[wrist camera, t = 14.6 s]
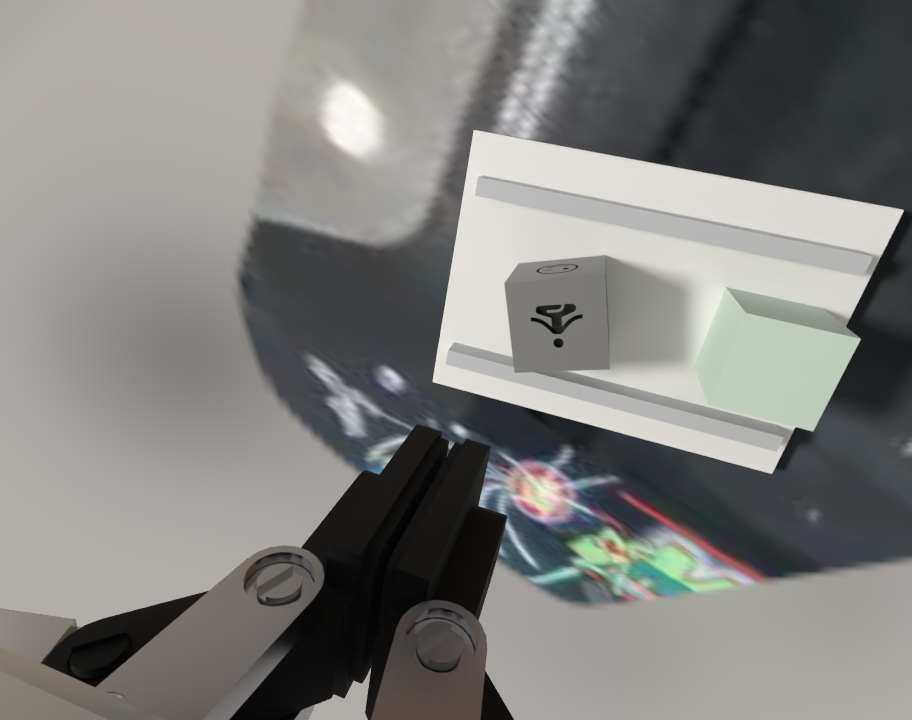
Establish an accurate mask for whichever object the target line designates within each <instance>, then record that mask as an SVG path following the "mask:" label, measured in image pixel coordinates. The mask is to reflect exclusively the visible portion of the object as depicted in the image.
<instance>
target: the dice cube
mask: <svg viewBox="0 0 912 720" xmlns="http://www.w3.org/2000/svg"><path fill="white" fill-rule="evenodd" d="M504 285H505V294H506V303H507V311H508V320H509V329H510V337H511V346H512V355H513V363H514V372H515V373H523V372H551V371H579V370H606V369H610V355H609V321H608V300H607V280H606V260H605V255H601V256H591V257H580V258H570V259H559V260H549V261H538V262H528V263H518V265H517V266H516V268H515V269H514V270H513V272H512V273H511V275H510V276H509V277H508V279H507V280H506V282H505V283H504Z"/></svg>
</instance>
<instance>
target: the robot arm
mask: <svg viewBox="0 0 912 720" xmlns="http://www.w3.org/2000/svg"><path fill="white" fill-rule="evenodd" d="M448 445H449V441H448V440H446V439H442V432H441V431H439V430H435V429H432V428H429V427H425V426H422V425H416V426H415V427H414V429H413V430H412V431H411V433H410V434H409V435H408V437H407V438H406V440H405V441H404V442H403V444H402V445H401V446H400V448H399V449H398V450H397V452H396V453H395V454H394V456H393V457H392V459H391V460H390V461H389V463H388V464H387V465H386V467H385V468H384V469H383V471H382V472H381V474H380V475H379V474H376V473H373V472H370V471H367V470H366V471H363V472H362V473H361V474H360V475H359V476H358V477H357V478H356V480H355V481H354V482H353V484H352V485H351V486H350V487H349V488H348V490H347V491H346V492H345V493H344V495H343V496H342V497H341V498H340V500H339V501H338V502H337V503H336V505H335V506H334V507H333V509H332V510H331V511H330V512H329V514H328V515H327V516H326V517H325V519H324V520H323V521H322V522H321V524H320V525H319V526H318V528H317V529H316V530H315V531H314V532H313V534H312V535H311V536H310V537H309V539H308V540H307V541H306V543H305V544H304V545H303V546H302V548H299V547H294V546H277V547H270V548H267V549H264V550H262V551H259V552H257V553H256V554H254V555H252V556H251V557H249V558H248V559H246V560H245V561H244V562H243V563H241V564H240V565H239V566H238V567H237V568H236V569H234V570H233V571H232V572H231V573H230V574H229V575H227V576H226V577H225V578H224V579H223V580H221V581H220V582H219V583H218V584H217V585H215V586H214V587H213V588H212V589H211V590H210V591H207V592H203V593H199V594H195V595H191V596H187V597H184V598H180V599H176V600H172V601H168V602H165V603H161V604H157V605H153V606H150V607H146V608H142V609H138V610H134V611H131V612H127V613H123V614H119V615H115V616H111V617H108V618H104V619H101V620H98V621H95V622H93V623H90V624H87V625H85V626H83V627H77V624H76V620H75V619H69V618H62V617H55V616H48V615H42V614H35V613H28V612H20V611H14V610H7V609H0V720H308V719H309V717H310V715H311V713H312V711H313V708H314V705H315V704H318V703H321V702H323V701H326V700H328V699H331V698H332V696H333V694H335V695H337V696H340V697H342V698H345V696H346V694H347V692H348V690H349V688H350V686H351V684H352V682H353V680H354V681H356V682H359V683H363V681H364V680H365V678H366V676H367V674H368V672H369V670H370V668H371V674H370V682H369V689H368V697H367V704H366V711H365V713H366V716H367V718H368V720H514V719H513V717H512V716H511V714H510V712H509V711H508V709H507V707H506V705H505V704H504V702H503V700H502V699H501V697H500V695H499V693H498V692H497V690H496V688H495V687H494V685H493V683H492V682H491V680H490V678H489V676H488V675H487V673H486V671H485V666H486V655H487V642H486V635H485V633H484V630H483V628H482V626H481V624H480V623H479V621H478V620H479V617H480V613H481V610H482V607H483V604H484V600H485V597H486V594H487V590H488V587H489V584H490V581H491V577H492V574H493V570H494V567H495V563H496V560H497V556H498V552H499V549H500V545H501V541H502V537H503V533H504V529H505V525H506V521H507V515H504V514H501V513H498V512H494V511H491V510H488V509H485V508H482V507H479V506H478V504H479V500H480V495H481V491H482V486H483V482H484V477H485V473H486V468H487V463H488V459H489V454H490V448H491V446H489V445H486V444H483V443H479V442H476V441H472V440H469V439H466V440H465V442H464V443H463V444H459V443H454V445H453V447H452V448H451V450H450V452H449V454H448V456H447V451H448ZM446 456H447V457H446ZM371 666H372V667H371Z"/></svg>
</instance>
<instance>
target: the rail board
mask: <svg viewBox="0 0 912 720" xmlns="http://www.w3.org/2000/svg"><path fill="white" fill-rule="evenodd" d="M903 212H904V210H901V209H897V208H892V207H887V206H882V205H876V204H871V203H866V202H860V201H855V200H849V199H844V198H839V197H833V196H828V195H823V194H817V193H812V192H806V191H801V190H796V189H790V188H785V187H780V186H774V185H769V184H764V183H758V182H753V181H747V180H742V179H737V178H731V177H726V176H721V175H715V174H710V173H704V172H699V171H694V170H688V169H683V168H678V167H672V166H667V165H661V164H656V163H651V162H645V161H640V160H635V159H629V158H624V157H618V156H613V155H608V154H602V153H597V152H592V151H586V150H581V149H575V148H570V147H565V146H559V145H554V144H549V143H543V142H538V141H533V140H527V139H522V138H516V137H511V136H506V135H500V134H495V133H490V132H484V131H479V130H474V132H473V138H472V145H471V151H470V157H469V163H468V169H467V175H466V181H465V187H464V193H463V199H462V205H461V212H460V218H459V224H458V230H457V236H456V242H455V248H454V254H453V260H452V266H451V272H450V278H449V285H448V291H447V297H446V303H445V309H444V315H443V321H442V327H441V333H440V339H439V345H438V351H437V358H436V364H435V370H434V376H433V382H435V383H438V384H442V385H446V386H449V387H453V388H457V389H461V390H464V391H468V392H472V393H475V394H479V395H483V396H486V397H490V398H494V399H497V400H501V401H505V402H508V403H512V404H516V405H520V406H523V407H527V408H531V409H534V410H538V411H542V412H545V413H549V414H553V415H556V416H560V417H564V418H568V419H571V420H575V421H579V422H582V423H586V424H590V425H593V426H597V427H601V428H604V429H608V430H612V431H615V432H619V433H623V434H627V435H630V436H634V437H638V438H641V439H645V440H649V441H652V442H656V443H660V444H663V445H667V446H671V447H675V448H678V449H682V450H686V451H689V452H693V453H697V454H700V455H704V456H708V457H711V458H715V459H719V460H722V461H726V462H730V463H734V464H737V465H741V466H745V467H748V468H752V469H756V470H759V471H763V472H767V473H770V474H772V473H773V471H774V469H775V467H776V465H777V463H778V461H779V459H780V457H781V455H782V453H783V451H784V449H785V447H786V445H787V443H788V441H789V439H790V437H791V435H792V433H793V431H794V429H795V427H797V428H801V429H805V430H809V431H813V430H814V429H815V427H816V425H817V423H818V421H819V419H820V417H821V415H822V413H823V411H824V409H825V407H826V405H827V404H828V402H829V400H830V398H831V396H832V394H833V392H834V390H835V388H836V386H837V384H838V382H839V380H840V378H841V377H842V375H843V373H844V371H845V369H846V367H847V365H848V363H849V361H850V359H851V357H852V355H853V353H854V351H855V350H856V348H857V346H858V344H859V342H860V340H861V338H859V337H858V336H857V335H855V334H854V333H853V332H852V331H850V330H849V329H848V328H847V327H846V325H847V323H848V321H849V319H850V317H851V315H852V313H853V311H854V309H855V307H856V305H857V303H858V301H859V299H860V297H861V295H862V293H863V291H864V289H865V287H866V285H867V283H868V281H869V279H870V277H871V275H872V273H873V271H874V269H875V267H876V265H877V264H878V262H879V260H880V258H881V256H882V254H883V252H884V250H885V248H886V246H887V244H888V242H889V240H890V238H891V236H892V234H893V232H894V230H895V228H896V226H897V224H898V222H899V220H900V218H901V216H902V214H903ZM601 255H605V260H606V280H607V300H608V321H609V355H610V369H606V370H579V371H551V372H523V373H515V372H514V363H513V355H512V346H511V337H510V329H509V320H508V311H507V303H506V294H505V285H504V283H505V282H506V280H507V279H508V277H509V276H510V275H511V273H512V272H513V270H514V269H515V268H516V266H517V265H518V263H528V262H538V261H549V260H559V259H570V258H580V257H591V256H601Z"/></svg>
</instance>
